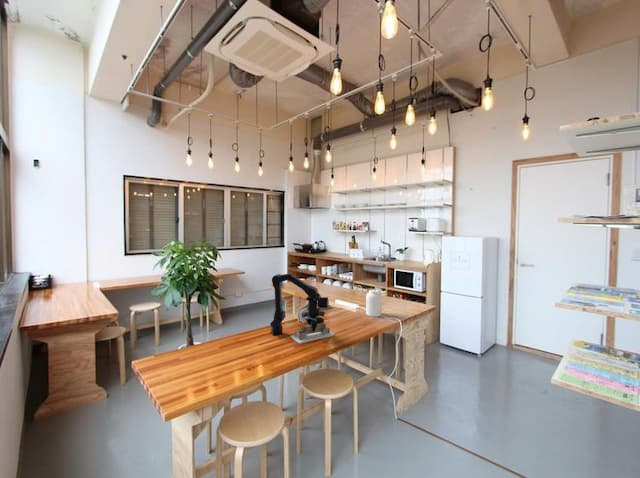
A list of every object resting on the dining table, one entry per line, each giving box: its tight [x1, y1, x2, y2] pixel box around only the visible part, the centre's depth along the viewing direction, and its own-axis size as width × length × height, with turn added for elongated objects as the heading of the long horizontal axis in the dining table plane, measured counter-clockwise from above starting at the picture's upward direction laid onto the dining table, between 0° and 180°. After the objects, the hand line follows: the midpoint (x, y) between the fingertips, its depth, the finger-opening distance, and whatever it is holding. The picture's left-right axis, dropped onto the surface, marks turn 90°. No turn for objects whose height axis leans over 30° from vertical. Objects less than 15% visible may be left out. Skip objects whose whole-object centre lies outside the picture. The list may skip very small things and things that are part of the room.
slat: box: [298, 322, 327, 334], centre depth 198 cm, size 18×3×5 cm, turn 119°
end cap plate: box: [290, 325, 335, 345], centre depth 198 cm, size 26×12×4 cm, turn 123°
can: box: [365, 289, 383, 318], centre depth 246 cm, size 12×12×20 cm
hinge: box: [296, 307, 317, 324], centre depth 232 cm, size 17×5×10 cm, turn 133°
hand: (312, 330), depth 198 cm, fingers closed on slat, 3 cm apart
